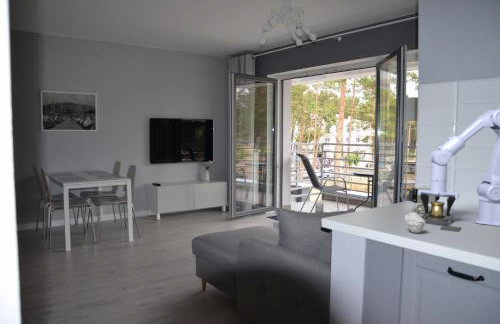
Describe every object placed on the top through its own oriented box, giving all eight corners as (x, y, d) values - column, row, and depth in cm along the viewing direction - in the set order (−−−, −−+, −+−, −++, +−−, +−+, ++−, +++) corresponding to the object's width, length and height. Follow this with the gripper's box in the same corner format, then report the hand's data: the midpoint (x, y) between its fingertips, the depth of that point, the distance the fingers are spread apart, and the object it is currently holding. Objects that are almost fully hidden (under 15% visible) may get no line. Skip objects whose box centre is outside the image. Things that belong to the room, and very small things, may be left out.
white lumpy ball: (409, 229, 142) (409, 210, 141) (428, 233, 137) (429, 213, 136) (400, 232, 138) (401, 212, 137) (420, 236, 133) (421, 215, 132)
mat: (461, 228, 144) (461, 227, 143) (458, 231, 139) (458, 230, 139) (443, 226, 147) (443, 225, 147) (440, 229, 142) (440, 228, 142)
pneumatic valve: (439, 214, 168) (440, 186, 167) (411, 214, 168) (413, 186, 168) (433, 211, 174) (434, 185, 173) (406, 211, 174) (408, 184, 173)
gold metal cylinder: (444, 221, 156) (445, 202, 155) (442, 223, 152) (443, 204, 151) (431, 219, 159) (432, 200, 158) (428, 221, 154) (429, 202, 154)
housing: (426, 216, 164) (427, 210, 163) (453, 219, 158) (453, 213, 158) (419, 222, 152) (419, 216, 152) (447, 226, 147) (448, 220, 146)
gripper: (416, 179, 155) (415, 213, 156) (457, 183, 146) (455, 218, 147) (420, 178, 160) (419, 210, 162) (460, 181, 152) (458, 215, 153)
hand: (437, 214), depth 155 cm, fingers open, 7 cm apart
